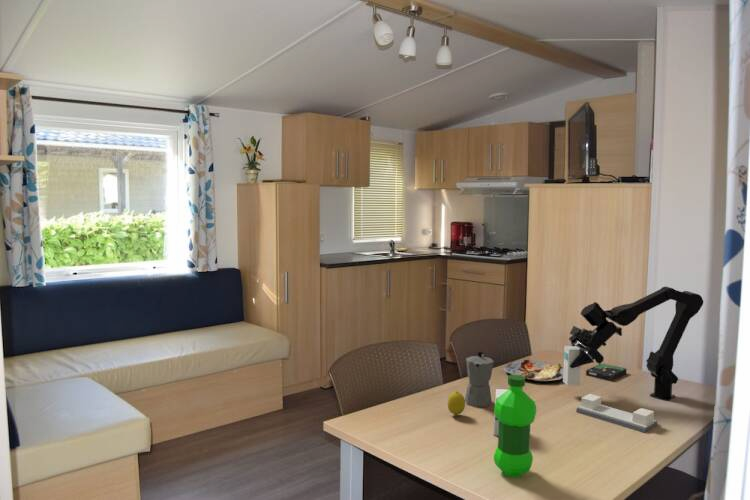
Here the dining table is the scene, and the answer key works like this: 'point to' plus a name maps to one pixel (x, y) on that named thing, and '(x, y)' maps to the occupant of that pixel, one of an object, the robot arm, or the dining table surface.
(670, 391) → the robot arm
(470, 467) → the dining table surface
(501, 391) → the ink box
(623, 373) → the disk drive
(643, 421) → the rail board
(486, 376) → the coffeepot
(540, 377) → the food plate
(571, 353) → the block
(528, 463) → the plastic bottle
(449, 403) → the lemon
